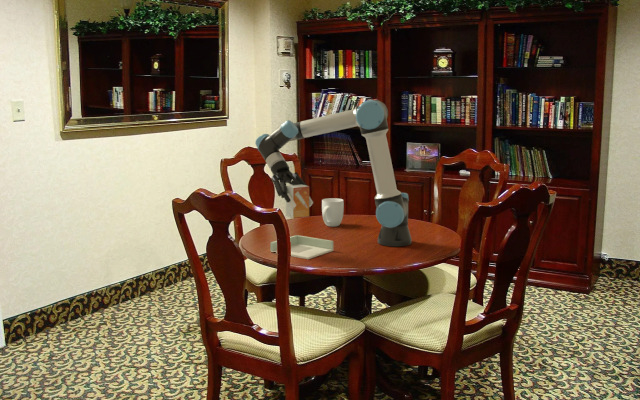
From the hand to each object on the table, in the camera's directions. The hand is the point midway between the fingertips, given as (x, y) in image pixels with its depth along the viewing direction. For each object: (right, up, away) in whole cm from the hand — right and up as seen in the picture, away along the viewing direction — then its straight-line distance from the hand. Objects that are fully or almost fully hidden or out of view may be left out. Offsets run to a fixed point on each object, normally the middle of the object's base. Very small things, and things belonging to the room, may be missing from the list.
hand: (302, 206), depth 281 cm
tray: (0, -19, +4) cm, 20 cm away
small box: (-2, -5, +3) cm, 6 cm away
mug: (+13, -11, +58) cm, 60 cm away
